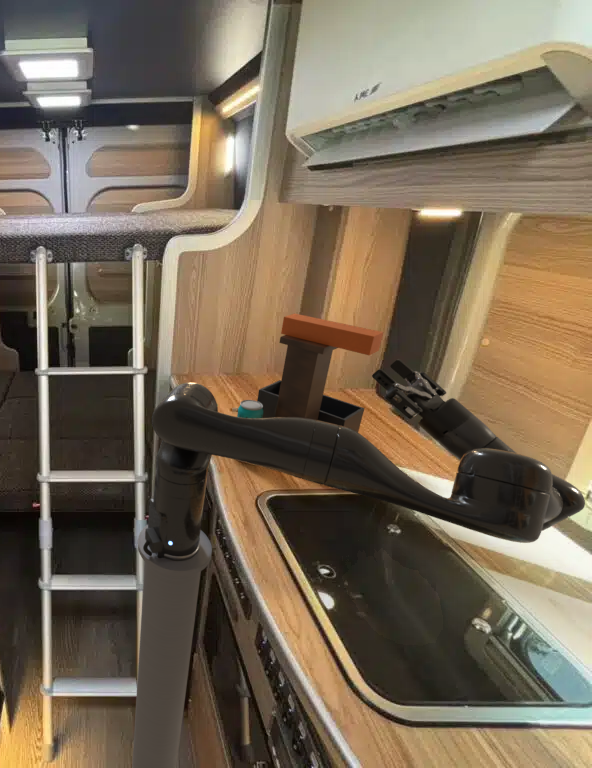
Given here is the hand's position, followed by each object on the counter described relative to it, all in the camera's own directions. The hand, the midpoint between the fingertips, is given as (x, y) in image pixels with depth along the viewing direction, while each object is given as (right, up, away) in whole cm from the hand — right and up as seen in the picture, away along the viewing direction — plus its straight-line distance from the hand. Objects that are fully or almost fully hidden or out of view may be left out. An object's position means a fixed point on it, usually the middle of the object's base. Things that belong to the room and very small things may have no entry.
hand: (385, 366), depth 94 cm
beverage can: (-20, -22, +24) cm, 39 cm away
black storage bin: (-2, -19, +32) cm, 37 cm away
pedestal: (-9, -22, +23) cm, 34 cm away
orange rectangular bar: (-7, +6, +8) cm, 12 cm away
